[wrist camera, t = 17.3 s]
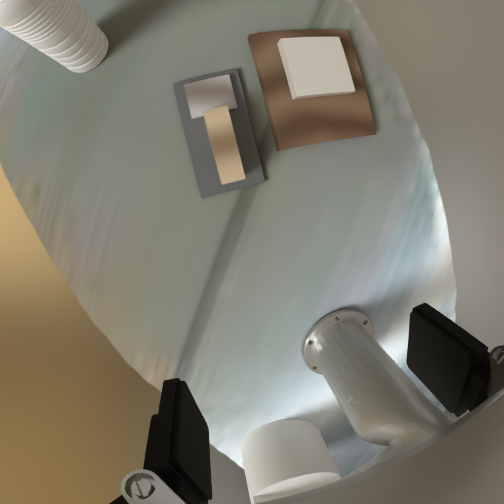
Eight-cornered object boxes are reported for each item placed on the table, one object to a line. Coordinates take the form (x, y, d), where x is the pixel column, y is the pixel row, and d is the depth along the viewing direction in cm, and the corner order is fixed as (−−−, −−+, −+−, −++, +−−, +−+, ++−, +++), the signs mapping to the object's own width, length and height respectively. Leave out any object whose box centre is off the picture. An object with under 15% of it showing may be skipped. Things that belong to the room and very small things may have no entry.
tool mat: (264, 181, 36) (265, 182, 35) (201, 198, 35) (201, 198, 35) (236, 70, 31) (237, 69, 30) (173, 85, 30) (173, 83, 30)
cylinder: (300, 461, 56) (334, 553, 29) (231, 461, 52) (251, 567, 25) (332, 418, 52) (386, 523, 25) (254, 416, 48) (289, 549, 21)
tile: (355, 91, 30) (339, 36, 28) (297, 96, 30) (280, 38, 27) (348, 94, 32) (332, 41, 30) (292, 100, 32) (276, 44, 29)
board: (370, 134, 36) (376, 134, 34) (277, 150, 35) (280, 150, 33) (342, 33, 31) (347, 30, 29) (247, 38, 30) (249, 34, 28)
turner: (253, 174, 35) (258, 175, 31) (209, 185, 34) (209, 188, 31) (228, 76, 30) (231, 67, 27) (184, 86, 30) (181, 78, 27)
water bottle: (105, 25, 26) (27, -79, 2) (113, 60, 28) (17, -41, 4) (51, 53, 25) (-57, -11, 1) (57, 89, 27) (-71, 40, 4)
